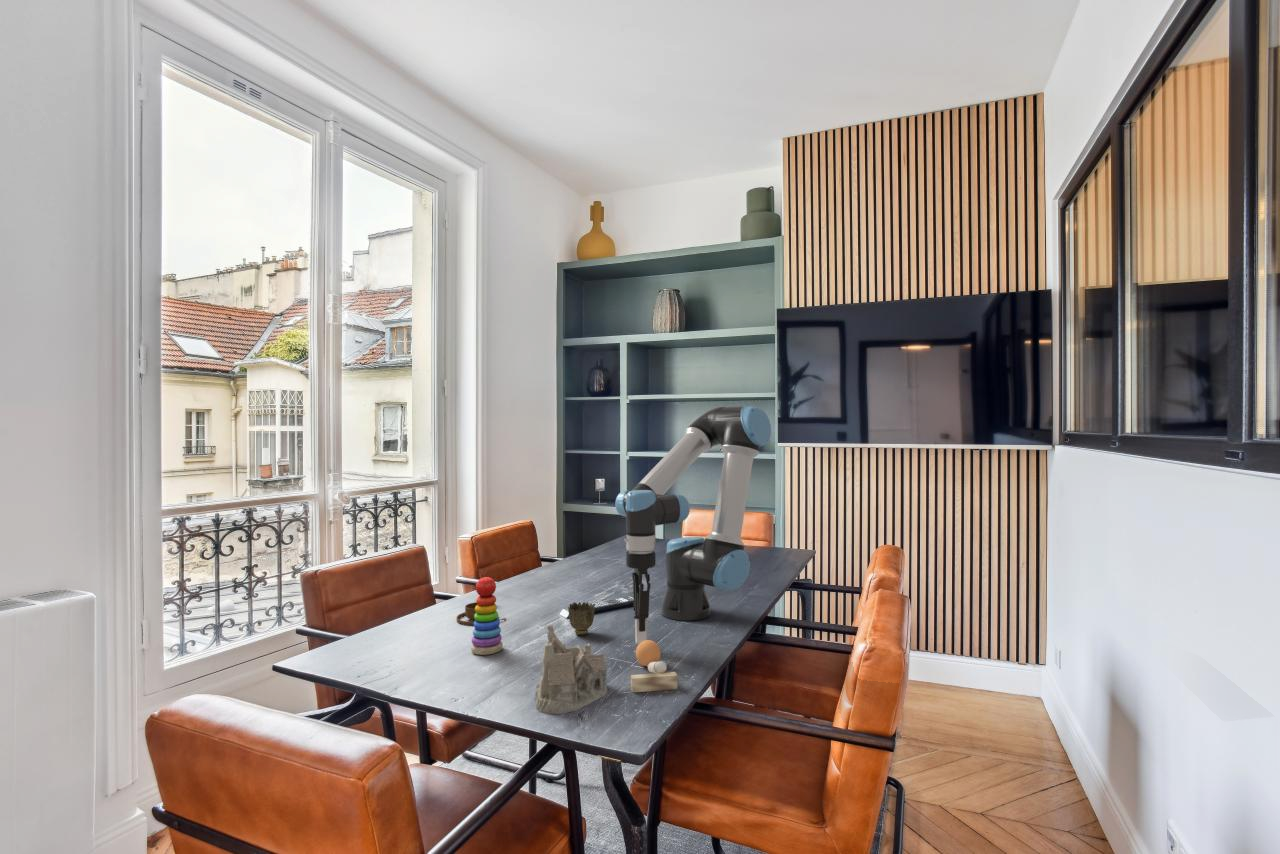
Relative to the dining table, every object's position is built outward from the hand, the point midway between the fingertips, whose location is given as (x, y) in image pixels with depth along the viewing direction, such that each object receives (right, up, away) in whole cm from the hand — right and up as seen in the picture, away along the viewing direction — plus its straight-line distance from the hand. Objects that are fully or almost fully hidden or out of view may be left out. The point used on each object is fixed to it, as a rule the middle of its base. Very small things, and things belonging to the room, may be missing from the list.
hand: (641, 642), depth 162 cm
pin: (+3, -1, -15) cm, 15 cm away
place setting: (-47, -3, +30) cm, 56 cm away
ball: (+2, +1, -11) cm, 11 cm away
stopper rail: (+3, -2, -24) cm, 24 cm away
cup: (-16, -2, +12) cm, 21 cm away
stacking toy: (-40, -2, 0) cm, 40 cm away
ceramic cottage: (-15, -3, -27) cm, 31 cm away
